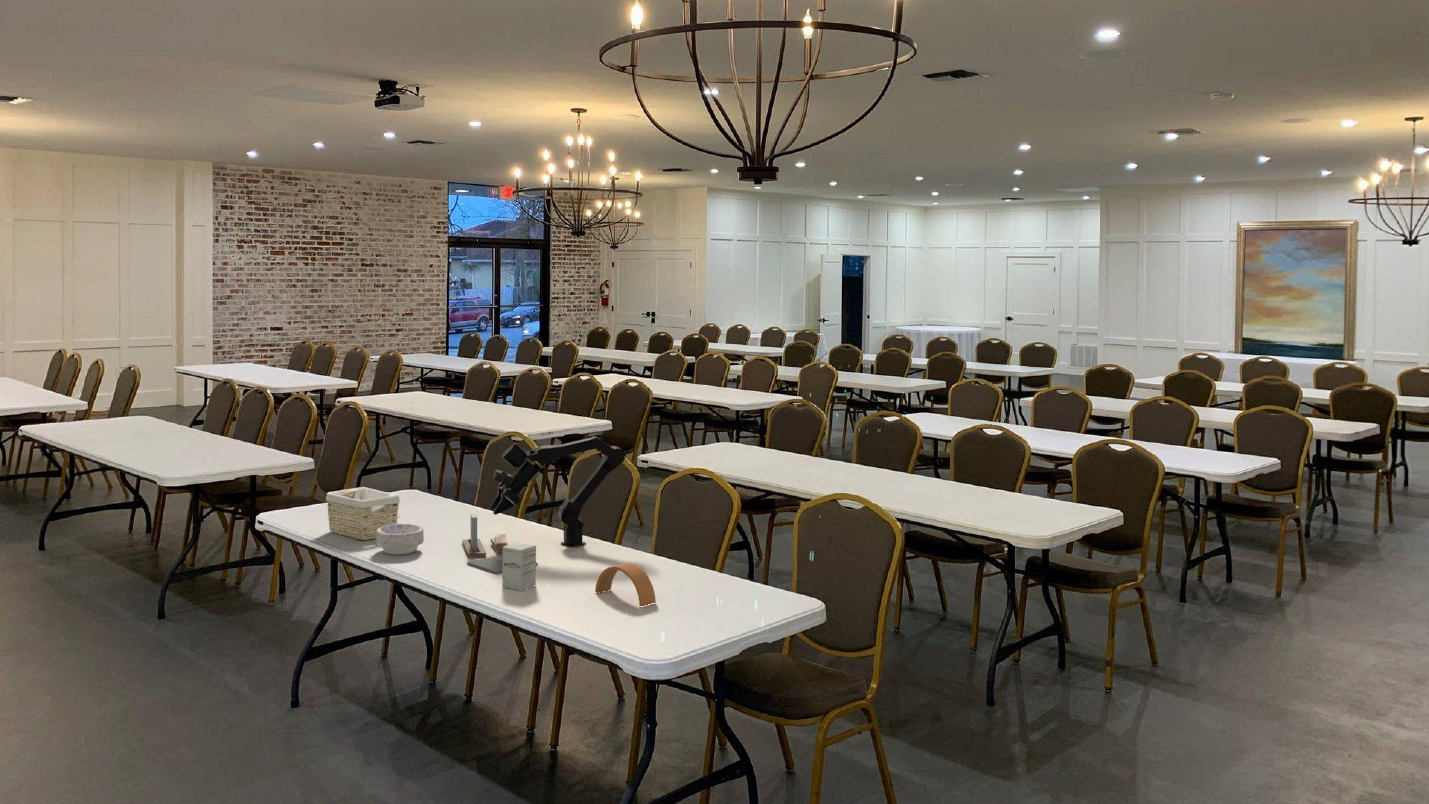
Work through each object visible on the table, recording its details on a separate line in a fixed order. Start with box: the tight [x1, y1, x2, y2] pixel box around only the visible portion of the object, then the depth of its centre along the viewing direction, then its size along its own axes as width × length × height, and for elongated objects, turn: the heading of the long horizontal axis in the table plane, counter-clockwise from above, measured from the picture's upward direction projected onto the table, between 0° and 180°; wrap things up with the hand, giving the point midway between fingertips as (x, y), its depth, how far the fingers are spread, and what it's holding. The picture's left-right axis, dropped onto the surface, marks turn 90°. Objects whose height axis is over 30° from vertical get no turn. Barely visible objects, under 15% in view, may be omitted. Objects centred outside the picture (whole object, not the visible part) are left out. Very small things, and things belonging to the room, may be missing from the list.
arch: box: [594, 562, 657, 606], centre depth 314 cm, size 6×20×10 cm, turn 46°
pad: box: [466, 554, 539, 575], centre depth 349 cm, size 16×16×1 cm
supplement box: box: [501, 542, 537, 592], centre depth 324 cm, size 7×7×13 cm
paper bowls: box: [376, 523, 425, 556], centre depth 363 cm, size 15×15×8 cm
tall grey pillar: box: [470, 513, 478, 553], centre depth 366 cm, size 2×6×12 cm, turn 18°
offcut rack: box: [461, 534, 509, 559], centre depth 368 cm, size 14×20×3 cm
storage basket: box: [325, 486, 401, 541], centre depth 387 cm, size 24×16×15 cm
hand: (492, 511), depth 368 cm, fingers open, 9 cm apart
